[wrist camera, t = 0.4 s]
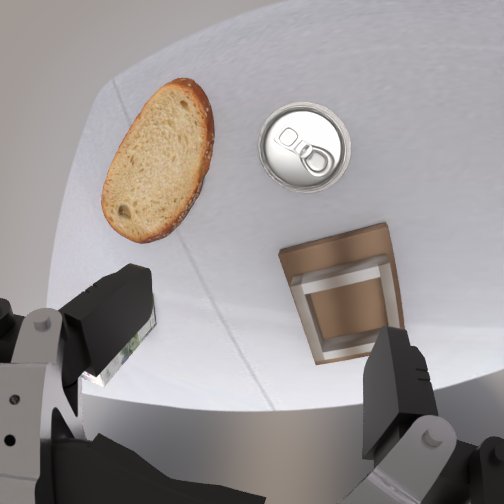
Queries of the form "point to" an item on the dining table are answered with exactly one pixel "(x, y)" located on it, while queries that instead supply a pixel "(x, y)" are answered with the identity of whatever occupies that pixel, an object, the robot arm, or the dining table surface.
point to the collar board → (344, 291)
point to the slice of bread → (160, 163)
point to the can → (304, 147)
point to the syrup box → (122, 354)
